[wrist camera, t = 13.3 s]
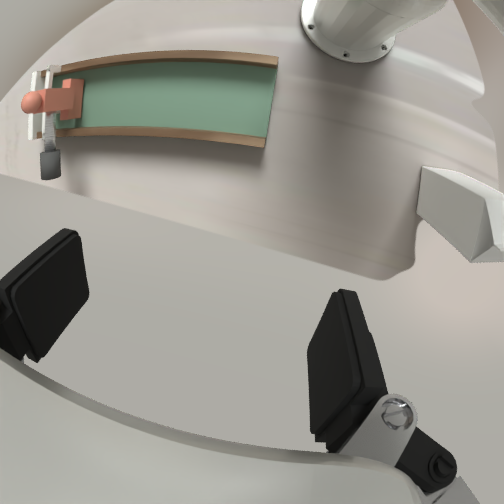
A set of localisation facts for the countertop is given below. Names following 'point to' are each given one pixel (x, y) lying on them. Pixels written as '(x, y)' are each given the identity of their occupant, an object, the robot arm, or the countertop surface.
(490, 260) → the milk carton
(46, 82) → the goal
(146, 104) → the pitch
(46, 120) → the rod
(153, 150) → the countertop surface
